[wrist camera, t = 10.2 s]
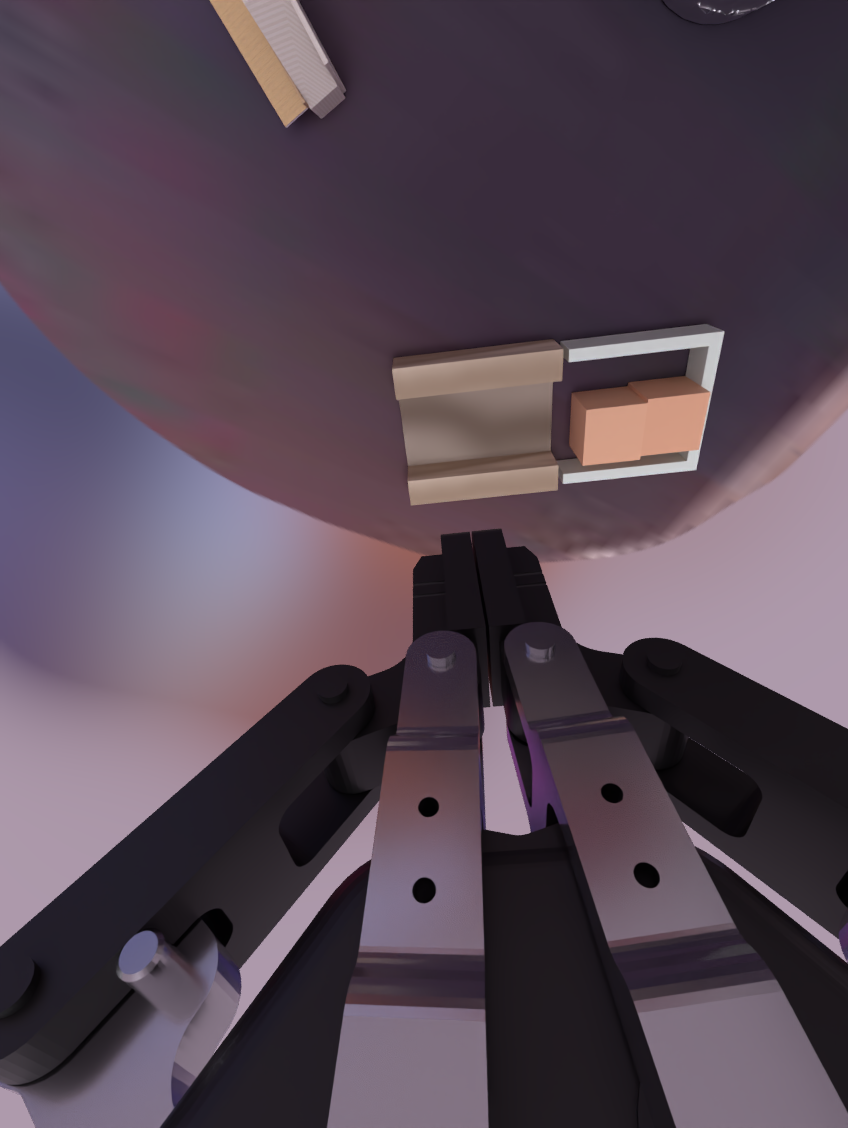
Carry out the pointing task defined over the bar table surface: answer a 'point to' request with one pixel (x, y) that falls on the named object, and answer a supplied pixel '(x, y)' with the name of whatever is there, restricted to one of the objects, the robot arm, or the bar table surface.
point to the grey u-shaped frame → (696, 337)
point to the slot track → (479, 420)
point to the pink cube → (607, 425)
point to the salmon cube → (672, 414)
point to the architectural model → (283, 55)
